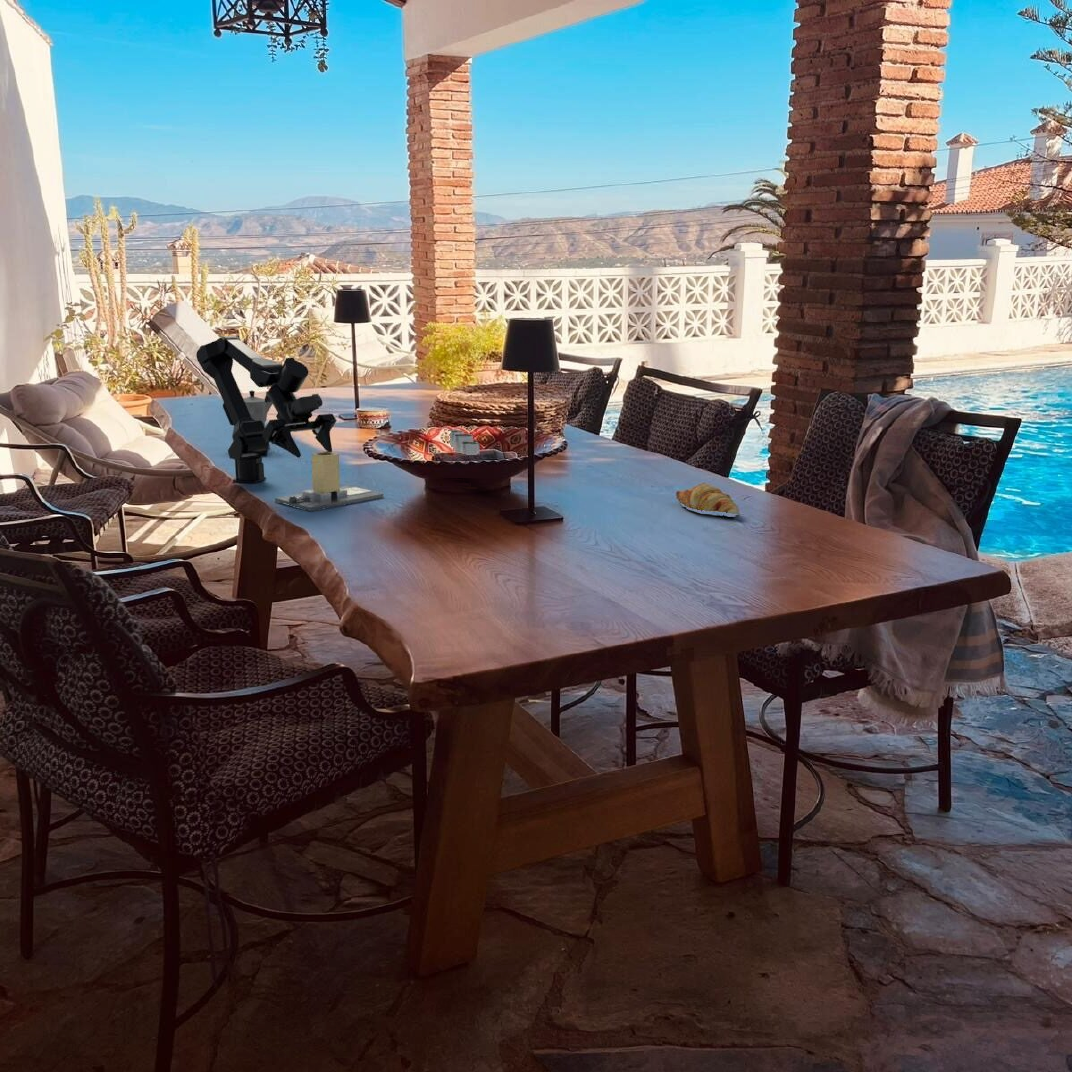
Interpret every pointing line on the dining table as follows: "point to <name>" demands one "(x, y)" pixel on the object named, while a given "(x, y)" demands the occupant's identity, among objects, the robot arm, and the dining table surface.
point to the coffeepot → (254, 408)
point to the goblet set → (463, 443)
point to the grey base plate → (329, 498)
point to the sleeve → (325, 472)
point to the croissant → (707, 499)
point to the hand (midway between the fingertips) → (315, 454)
